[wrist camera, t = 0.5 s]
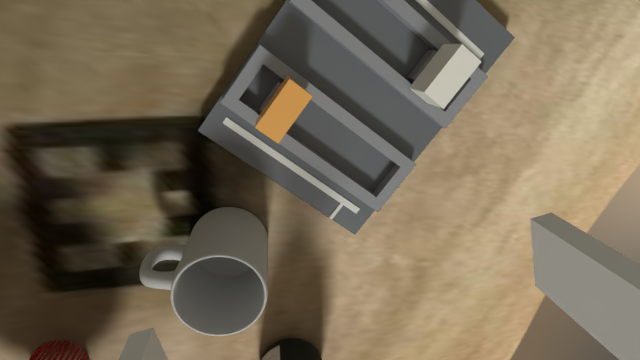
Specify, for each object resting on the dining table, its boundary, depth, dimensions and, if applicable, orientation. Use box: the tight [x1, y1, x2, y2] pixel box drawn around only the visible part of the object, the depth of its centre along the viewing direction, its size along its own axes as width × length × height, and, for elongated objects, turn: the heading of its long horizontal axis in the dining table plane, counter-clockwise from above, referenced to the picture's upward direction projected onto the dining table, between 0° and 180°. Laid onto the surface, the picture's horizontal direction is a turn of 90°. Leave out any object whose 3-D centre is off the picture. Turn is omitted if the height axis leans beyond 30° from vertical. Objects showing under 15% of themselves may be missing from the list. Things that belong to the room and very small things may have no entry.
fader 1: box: [255, 76, 313, 143], centre depth 37 cm, size 3×5×6 cm, turn 143°
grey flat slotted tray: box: [198, 0, 515, 234], centre depth 41 cm, size 20×26×4 cm
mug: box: [140, 207, 268, 336], centre depth 41 cm, size 12×8×11 cm
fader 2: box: [407, 44, 481, 109], centre depth 38 cm, size 3×5×6 cm, turn 143°
